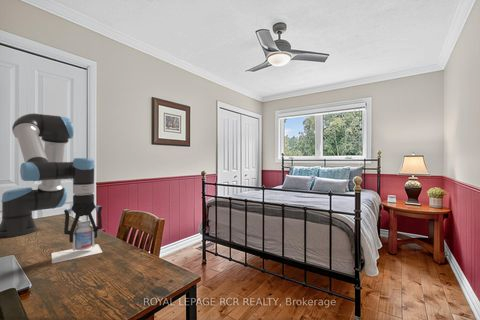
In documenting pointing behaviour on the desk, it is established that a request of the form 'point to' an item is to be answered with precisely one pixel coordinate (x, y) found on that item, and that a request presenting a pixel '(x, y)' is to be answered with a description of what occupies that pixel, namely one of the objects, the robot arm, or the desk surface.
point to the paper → (74, 254)
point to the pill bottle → (83, 235)
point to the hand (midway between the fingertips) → (83, 247)
